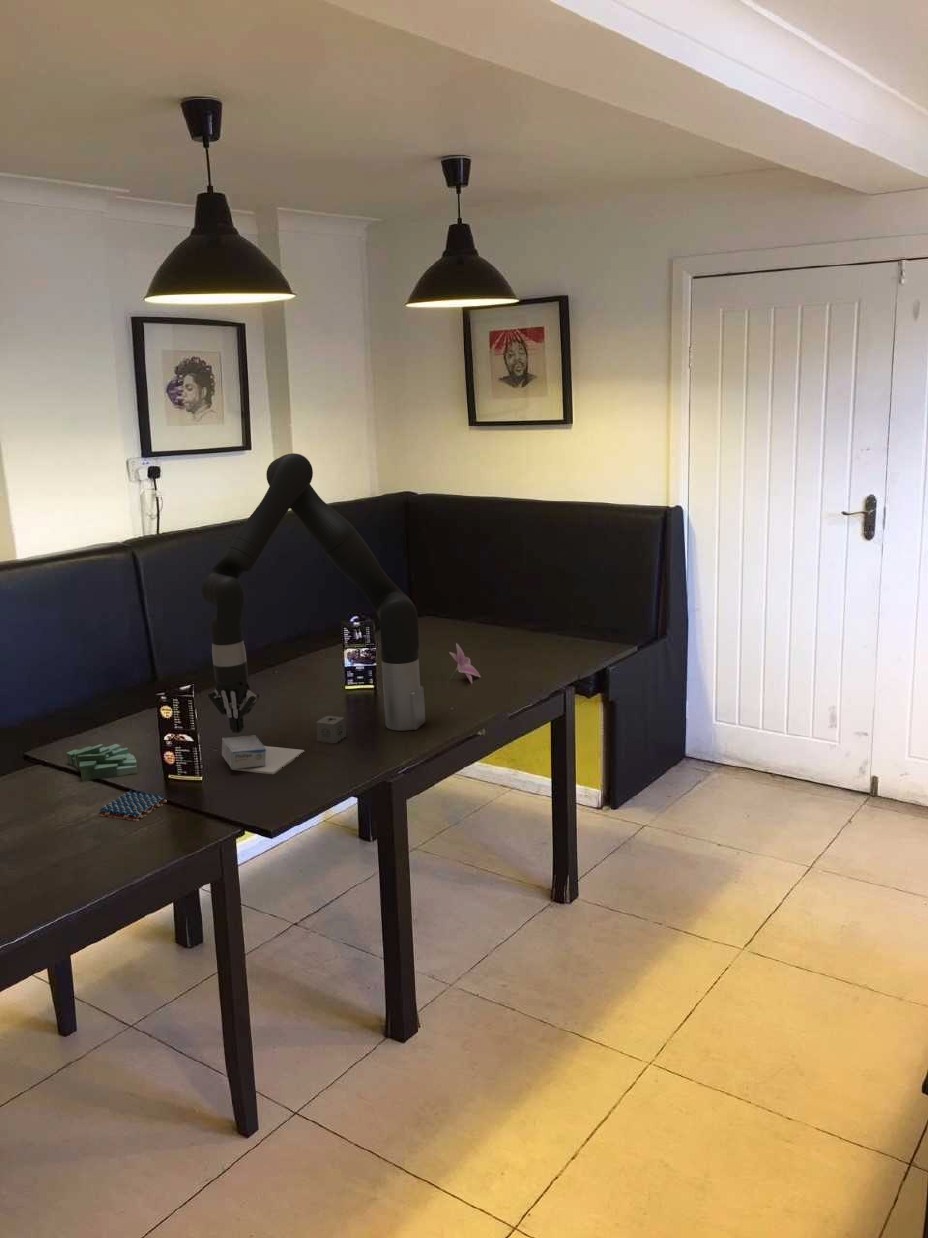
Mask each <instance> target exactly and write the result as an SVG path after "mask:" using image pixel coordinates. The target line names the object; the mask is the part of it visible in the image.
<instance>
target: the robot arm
mask: <svg viewBox="0 0 928 1238" xmlns="http://www.w3.org/2000/svg"><path fill="white" fill-rule="evenodd" d="M313 469H314V468H313V467H312V464H311V462H310V461H309V459H308V458H307V457H306V456H304V455H303V454H300V453H295V452H294V453H293V452H292V453H287V454H284V455H282V456H280V457H278V458H276V459H274V460H273V461H272V462H270V463H269V465H268V466H267V469H266V473H265V474H266V475H265V476H266V481H267V484H268V489H267V491H266V492H265V495H264V496H263V497H262V500H261V501H260V502H259V504H258V505H257V507H256V508H255V509H254V511H253V512H252V513H251V515H250V516H249V517H248V519H247V520H246V521H245V522H244V524H243V525H241V526H242V527H240V529H239V530H238V532H237V533H236V535H235V536H234V538H233V540H232V542H231V544H229V547H228V549H227V551H226V552H225V554H224V555H223V556H222V557H221V558H219V560H218V561H217V562H216V563H215V564H214V565H213V566H212V568H211V569H210V570H209V571H208V572H207V574H206V575H205V577H204V579H203V580H202V583H201V588H200V592H201V596H202V598H203V599H204V600H205V601H206V602H207V603H209V604H211V605H216V615H215V616H214V617H213V618H212V619H211V620H210V624H209V625H210V626H209V627H210V637H211V638H210V639H211V655H212V665H213V675H214V676H213V677H214V681H215V682H216V684H215V689H213V691H211V692H210V693H208V695H207V697H208V699H209V700H210V701H211V702H212V703H213V705H214V707H216V708H217V710H218V712H219V713H220V714H221V715H224V716H225V715H226V717H228V720H229V728H230V730H231V732H232V733H234V734H240V733H241V732H242V731H243V730H244V727H245V725H244V716H246V715H247V714H249V713H250V712H251V710H252V709H253V708H254V706H255V705H256V704H257V701H259V698H260V695H259V694H258V693H254V692H253V691H251V687H250V685H249V683H248V680H249V679H248V678H249V672H248V661H247V653H246V652H247V651H246V646H245V644H244V643H245V641H244V635H243V634H244V633H243V626H242V620H243V616H244V609H245V608H244V606H245V590H244V588H243V585H242V583H241V581H240V580H239V578H240V577H241V576H242V575H245V574H248V573H250V572H252V570H253V569H254V568H255V567H256V565H257V563H258V561H259V560H260V558H261V556H262V555H263V552H264V551H265V549H266V547H267V546H268V544H269V542H270V540H272V539H271V538H272V537H273V535H274V534H275V532H276V530H277V528H278V527H279V525H280V523H281V522H282V520H283V519H284V517H285V515H286V514H287V513H288V511H289V510H291V511H292V512H293V514H295V516H297V518H298V519H299V520H300V521H301V523H302V524H303V525H304V527H305V528H306V529H307V531H308V533H309V534H310V535H311V537H312V538H313V540H315V542H316V543H317V544H318V545H319V547H320V548H321V550H322V551H323V553H324V554H325V555H326V556H327V557H328V559H329V560H330V561H331V563H332V564H333V565H334V567H336V568H337V569H338V570H339V572H341V573H342V574H343V576H345V577H346V578H347V579H348V580H349V581H350V582H351V583H352V584H354V585H355V586H356V587H357V588H358V589H359V590H360V591H361V592H362V594H363V595H364V597H365V598H366V599H367V601H368V602H369V603H370V605H371V607H372V608H373V610H374V611H375V613H376V616H377V617H378V619H379V627H380V628H379V631H380V644H381V645H380V656H381V658H380V659H381V660H380V661H381V672H382V673H381V674H382V690H383V703H384V705H383V707H384V721H385V727H386V728H387V729H389V730H391V731H397V732H398V731H400V732H401V731H414V730H415V731H416V730H418V729H419V728H420V727H421V726H423V725H424V724H425V723H426V709H425V708H426V707H425V691H424V686H423V685H421V678H420V677H421V676H420V662H419V661H420V660H419V657H420V656H419V654H420V653H419V651H420V637H419V636H420V635H419V634H420V633H419V617H418V616H419V615H418V611H417V609H416V606H415V604H414V602H413V601H412V599H410V598H409V596H408V595H407V594H405V592H403V590H401V588H399V586H397V584H396V583H395V582H393V580H392V579H391V578H390V577H389V576H388V575H387V574H386V572H385V570H383V568H382V566H381V565H380V563H379V561H378V560H377V558H376V556H375V554H374V553H373V551H372V550H371V548H370V547H369V546H368V544H367V542H366V541H365V539H364V537H362V536H361V535H360V533H359V532H358V530H356V529H355V527H354V526H353V525H352V524H351V522H350V521H348V519H346V518H345V517H344V516H343V515H341V514H340V513H339V512H338V511H336V510H335V509H334V508H333V507H332V506H330V505H329V504H328V503H326V502H325V501H324V500H323V499H322V498H321V496H319V494H318V493H317V492H316V490H315V489H314V487H313V486H312V485H311V482H312V480H313V477H314V476H313V475H314V471H313ZM245 700H246V703H245Z"/></svg>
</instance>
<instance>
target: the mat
mask: <svg viewBox="0 0 928 1238" xmlns="http://www.w3.org/2000/svg"><path fill="white" fill-rule="evenodd" d="M263 746H264V747H265V748H266V755H265V766H258V767H248V768H238V769H231V770H232V771H240V772H241V771H242V772H248V773H250V772H251V773H258V774H259V773H260V774H266V775H275V774H276V773H278V772H279V771H281V770H282V769H283V768H285V767H286V766H287V765H289V764H290V763H292V762H293V761H294V760H296V759H297V758H298V757H300V756H301V755H302V754H301V753H303V752H304V753H305V750H304V749H296V748H286V747H277V746H268V745H263ZM304 753H303V754H304ZM300 754H301V755H300ZM299 755H300V756H299ZM296 757H297V758H296ZM295 758H296V759H295ZM282 767H283V768H282Z"/></svg>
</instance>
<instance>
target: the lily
mask: <svg viewBox="0 0 928 1238" xmlns="http://www.w3.org/2000/svg"><path fill="white" fill-rule="evenodd" d="M455 647H456V653H454V652H451V651H449V652H448V653H449V654H450V655H451V657H452V658H453V659H454V661H455V662H456V665H457V666H456V669H455V670H454V672H452V674H451V676H450V678H449V680H452V678H453V676H454V674H455V673H456V672H457V671H458V672H459V673H462V674H463V673H464V674H465V675H466V677H467V679H468V680H469V682H470V684H471V685H472V684H473V677H472V675H473V676H475V677H478V678H481V675H480V672H479V671H478V670H477V669H476V668H475V667H474V666H473V665H472V664H471V659H470V658H469V657H467V656H465V653H464V651H463V649H462V648H461V647H460V645H459V643H457V642H455Z"/></svg>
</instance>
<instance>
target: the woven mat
mask: <svg viewBox="0 0 928 1238" xmlns="http://www.w3.org/2000/svg"><path fill="white" fill-rule="evenodd" d="M157 794H158V793H154V794H151V792H148V793H145V791H141V792H139V791H138V790H137V791H133V790H129V791H127V792H125V793H123V795H119V796H118V798H115V799H114V800H112V801H110V802H109V803H108V804H104V806H102V807H100V809H99V812H98V815H99V816H101V817H107V818H115V819H122V820H128V821H134V822H135V821H136V822H139V821H140V819H143V818H144V817H147V815H149V814H150V813H152V812H153V810H156V809H157V808H160V807H161V806H162V807H163V806H164V804H166V803H167V801H168V800H167V797H166V796H165V795H164V796H163V794H159V795H157Z"/></svg>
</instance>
